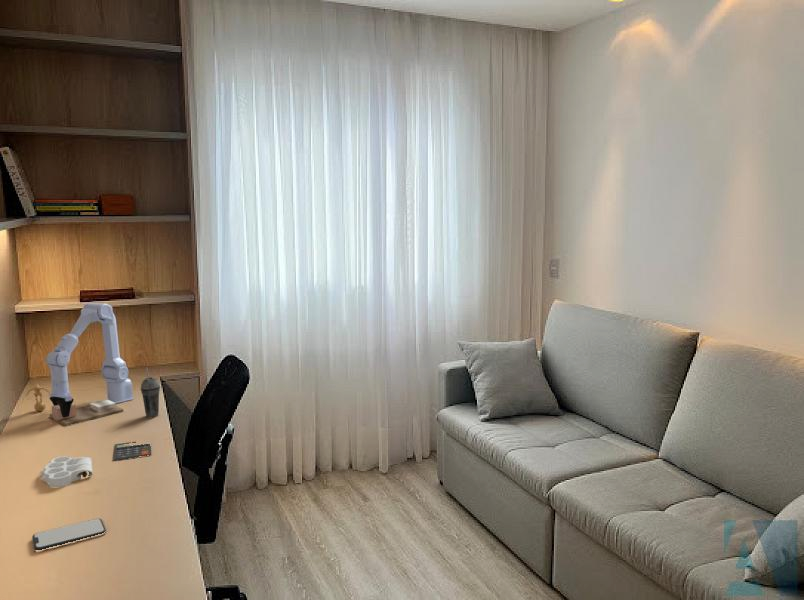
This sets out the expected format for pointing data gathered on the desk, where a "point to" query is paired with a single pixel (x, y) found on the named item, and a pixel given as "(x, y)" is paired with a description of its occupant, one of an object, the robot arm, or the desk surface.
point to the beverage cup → (150, 395)
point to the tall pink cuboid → (58, 415)
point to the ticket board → (92, 412)
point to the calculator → (130, 451)
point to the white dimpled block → (66, 470)
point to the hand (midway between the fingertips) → (62, 415)
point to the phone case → (67, 534)
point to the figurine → (40, 405)
